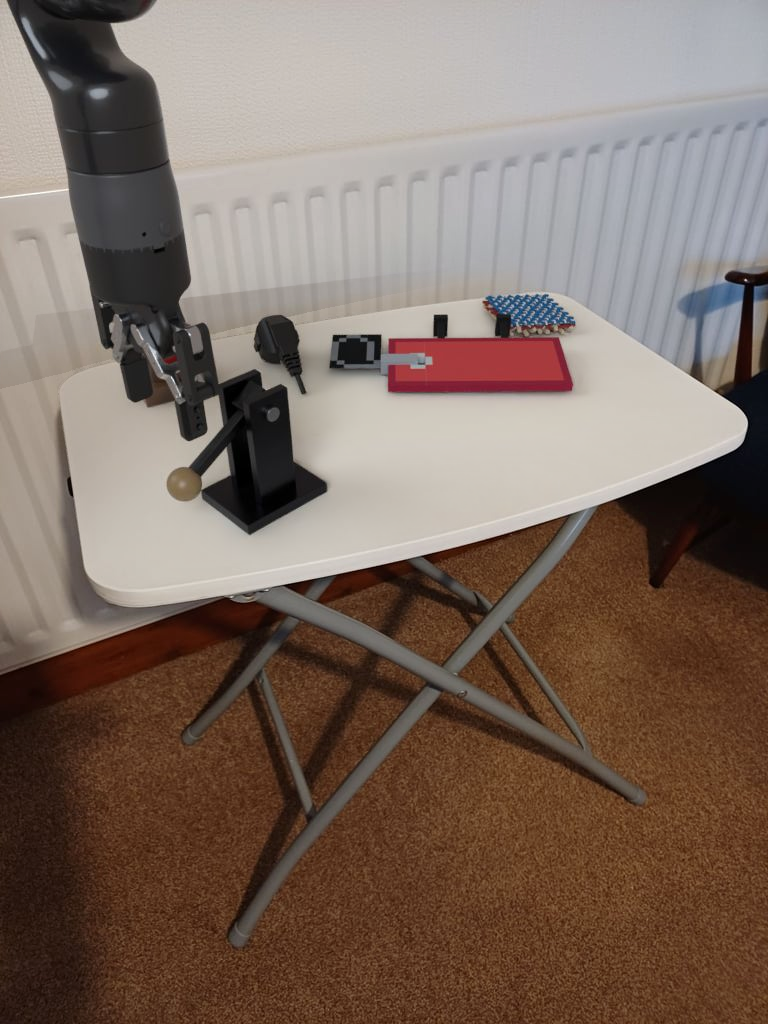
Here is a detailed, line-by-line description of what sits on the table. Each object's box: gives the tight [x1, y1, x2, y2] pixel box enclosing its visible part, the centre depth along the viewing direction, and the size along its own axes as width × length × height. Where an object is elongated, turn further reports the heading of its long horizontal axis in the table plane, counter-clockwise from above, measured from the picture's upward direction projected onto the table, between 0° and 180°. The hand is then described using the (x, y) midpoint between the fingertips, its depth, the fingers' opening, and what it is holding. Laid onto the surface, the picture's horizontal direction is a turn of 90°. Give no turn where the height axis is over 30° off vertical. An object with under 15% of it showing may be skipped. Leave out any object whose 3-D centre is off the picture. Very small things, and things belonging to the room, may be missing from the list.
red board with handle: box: [328, 313, 574, 393], centre depth 101 cm, size 30×3×15 cm
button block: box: [140, 354, 205, 408], centre depth 97 cm, size 8×8×4 cm
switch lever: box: [165, 381, 267, 503], centre depth 73 cm, size 13×3×3 cm, turn 135°
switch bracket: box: [200, 368, 328, 536], centre depth 77 cm, size 10×8×13 cm
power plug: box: [253, 314, 308, 395], centre depth 100 cm, size 6×8×12 cm
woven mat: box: [481, 293, 577, 338], centre depth 111 cm, size 10×11×2 cm
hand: (167, 416), depth 67 cm, fingers open, 8 cm apart
